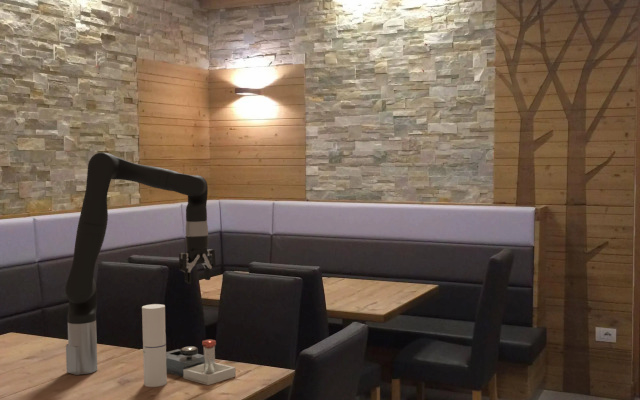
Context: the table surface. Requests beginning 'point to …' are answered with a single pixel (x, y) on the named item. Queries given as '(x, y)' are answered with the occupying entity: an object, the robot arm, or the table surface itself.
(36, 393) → the table surface
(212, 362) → the pin
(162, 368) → the cylindrical container
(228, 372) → the dish
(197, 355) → the dark grey block
